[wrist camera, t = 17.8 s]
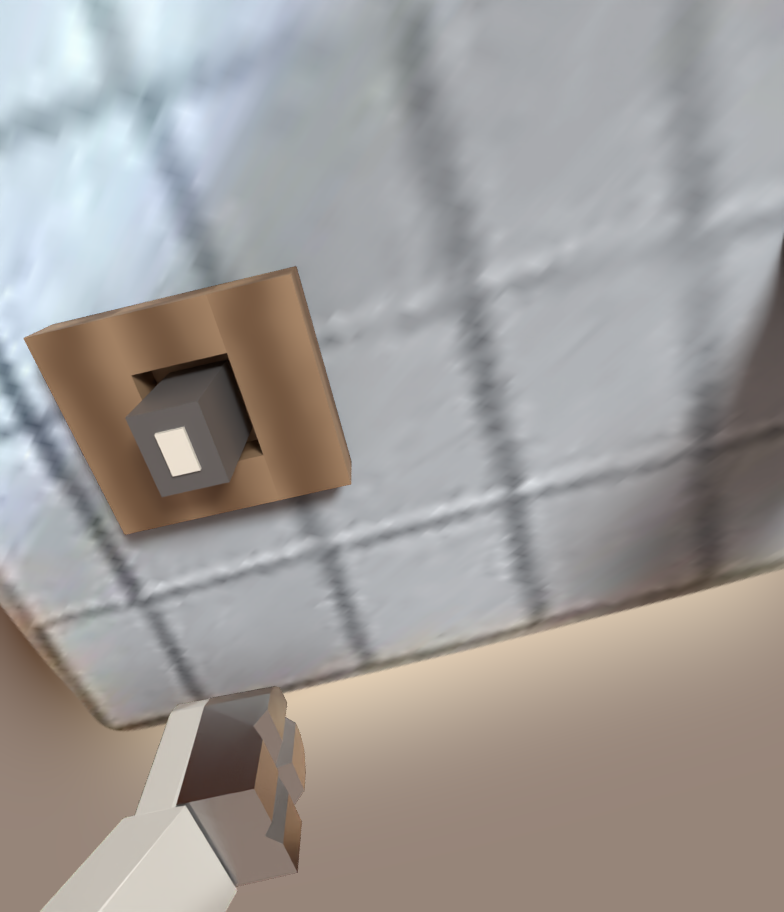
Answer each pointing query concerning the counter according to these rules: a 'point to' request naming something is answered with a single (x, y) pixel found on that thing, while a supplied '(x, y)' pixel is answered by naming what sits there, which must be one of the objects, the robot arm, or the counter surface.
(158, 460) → the block
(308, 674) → the counter surface
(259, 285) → the dock
